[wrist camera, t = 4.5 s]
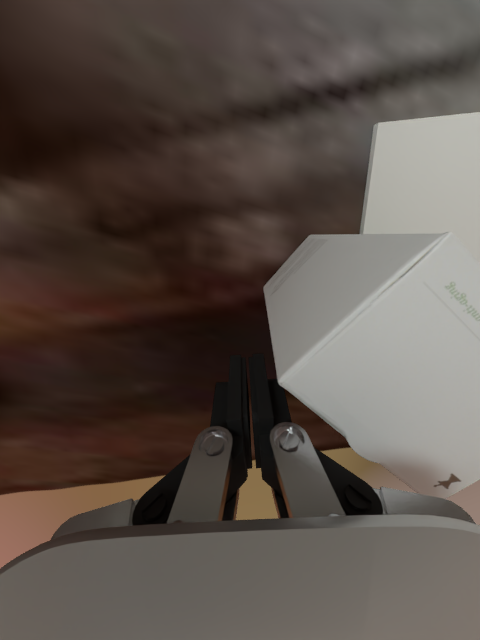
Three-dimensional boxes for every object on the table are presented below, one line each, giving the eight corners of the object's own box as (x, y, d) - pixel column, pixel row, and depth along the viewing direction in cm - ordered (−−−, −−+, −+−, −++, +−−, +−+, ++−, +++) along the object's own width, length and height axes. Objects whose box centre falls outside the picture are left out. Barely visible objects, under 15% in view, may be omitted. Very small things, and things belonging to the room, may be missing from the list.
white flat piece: (373, 125, 17) (399, 110, 14) (657, 95, 16) (740, 74, 14) (339, 383, 28) (350, 402, 25) (510, 370, 27) (541, 389, 24)
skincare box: (371, 293, 22) (629, 411, 7) (318, 341, 24) (436, 517, 9) (307, 230, 20) (471, 214, 5) (255, 287, 22) (273, 393, 7)
